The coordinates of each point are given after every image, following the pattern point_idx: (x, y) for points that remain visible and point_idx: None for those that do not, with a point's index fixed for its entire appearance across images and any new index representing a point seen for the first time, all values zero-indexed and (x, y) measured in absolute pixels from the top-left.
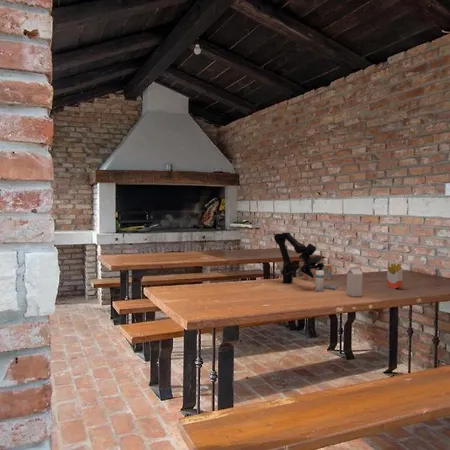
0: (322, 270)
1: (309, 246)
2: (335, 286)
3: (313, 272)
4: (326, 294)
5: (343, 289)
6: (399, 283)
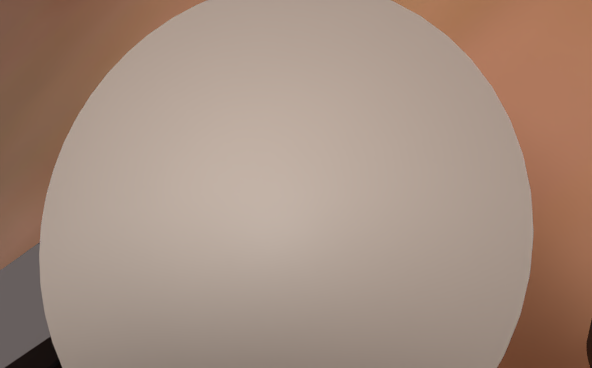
0: (42, 224)
1: None
2: (35, 262)
3: None
4: (485, 9)
5: (47, 152)
6: None
